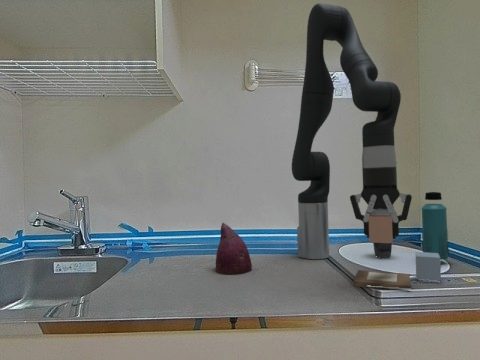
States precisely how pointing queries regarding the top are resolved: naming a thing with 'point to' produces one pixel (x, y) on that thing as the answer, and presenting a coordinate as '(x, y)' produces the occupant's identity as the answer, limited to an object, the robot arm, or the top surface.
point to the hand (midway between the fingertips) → (381, 237)
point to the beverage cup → (382, 248)
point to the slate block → (428, 266)
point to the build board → (381, 279)
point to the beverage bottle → (435, 227)
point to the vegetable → (232, 253)
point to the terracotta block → (380, 228)
